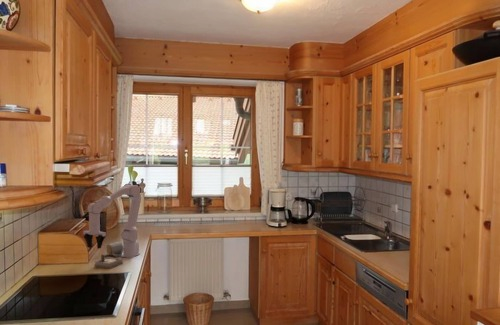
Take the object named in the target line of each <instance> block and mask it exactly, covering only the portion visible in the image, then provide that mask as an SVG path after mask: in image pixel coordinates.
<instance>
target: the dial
mask: <svg viewBox="0 0 500 325" xmlns="http://www.w3.org/2000/svg"><path fill="white" fill-rule="evenodd" d="M104 258H105V254H101V259H100V260H101V262H103V263H112V262H114V261H116V260H115V259H105V260H104Z"/></svg>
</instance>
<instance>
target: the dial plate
mask: <svg viewBox="0 0 500 325" xmlns="http://www.w3.org/2000/svg"><path fill="white" fill-rule="evenodd" d="M105 259H115V260H116V261H114V262H112V263H103V262H101V259H98V260H96V261H94V267H95V268H103V269H108V270H111V269H113V268H116V267H118V266H121V265H123V261H122V258H120V257H110V256H107V257H104V260H105Z"/></svg>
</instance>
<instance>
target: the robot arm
mask: <svg viewBox="0 0 500 325" xmlns="http://www.w3.org/2000/svg"><path fill="white" fill-rule="evenodd" d="M122 196H127V197H128V198H129V199H130V200H131V202H130V207H129V212H128V215H127V216H128V217H127V218H128V219H127V221H126V225H125V226H124V227H123V229H122V232H121V235H120V237H121V239H122V245H123V253H122V255H121V256H120V257H119V258H128V259H131V258H132V259H133V258H134V257H136V256H139V255H141V253H140V244H139V241H138V237H139V234H138V231H139V230H138V228H137V222H138V217H139V212H140V206H141V202H142V194H141V188H140V187H139V186H138V185H136V184H125V185H123V186H121V187H120V188H118V189H117V190H115V191H114V192H113V193H111V194H110V195H109V196H108V195H102V196H101V198H100V199H98V200H94V202H91V203H89V204H88V205H87V208H86V211H87V212H88V230H83V231H82V234H83V238H84V240H85V242H86V244H87V247H88V248H92V246H93V238H94V236H95V239H96V245H97V249H101V248H102V245H103V243H104V241H105V240H104V239H105V238H106V236H107V232H106V231H105V232H104V231H101V224H100V223H101V216H100V214H101V212H102V211H103V210H104V209H105V208H107V207H108V206H110V205H111V204H112V202H113V201H115V200H116V199H118V198H120V197H122Z"/></svg>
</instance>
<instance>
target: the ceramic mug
mask: <svg viewBox="0 0 500 325" xmlns="http://www.w3.org/2000/svg"><path fill="white" fill-rule="evenodd" d="M106 253H107V255H108V256H114V258H121V257H120V256H121V255H123V242H121V241H116V242H112V243H109V244H107V245H106Z"/></svg>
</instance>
